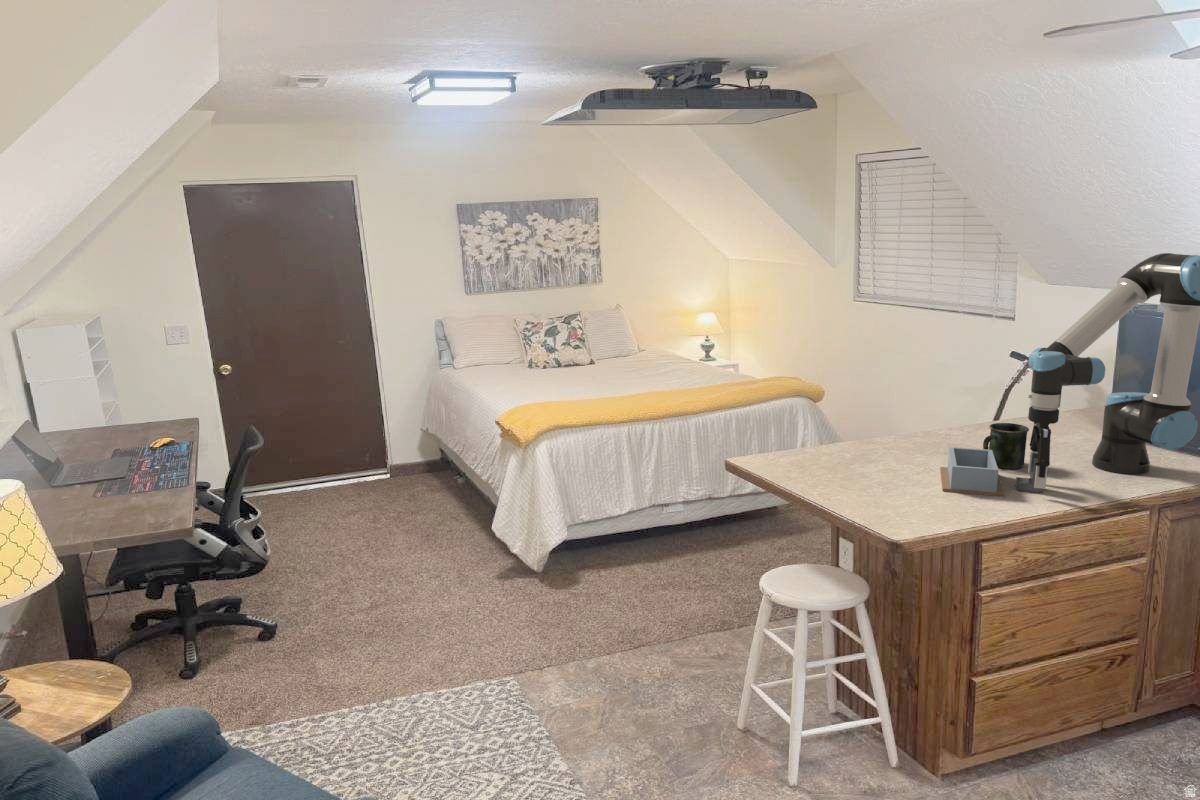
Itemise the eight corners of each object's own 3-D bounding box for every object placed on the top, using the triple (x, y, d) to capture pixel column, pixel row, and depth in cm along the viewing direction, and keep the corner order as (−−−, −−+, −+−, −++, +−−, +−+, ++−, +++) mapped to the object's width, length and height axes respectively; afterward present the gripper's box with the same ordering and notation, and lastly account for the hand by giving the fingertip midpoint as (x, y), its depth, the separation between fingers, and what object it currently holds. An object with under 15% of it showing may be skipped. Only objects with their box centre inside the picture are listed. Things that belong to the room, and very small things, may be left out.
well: (997, 473, 267) (999, 450, 266) (1004, 496, 248) (1006, 471, 246) (940, 469, 272) (942, 446, 271) (942, 491, 253) (944, 466, 251)
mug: (1033, 467, 273) (1037, 429, 270) (995, 473, 268) (999, 434, 265) (1006, 457, 283) (1009, 421, 280) (969, 463, 278) (972, 426, 275)
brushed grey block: (1040, 487, 255) (1043, 453, 253) (1042, 493, 250) (1046, 458, 248) (1015, 485, 257) (1018, 452, 255) (1017, 491, 252) (1020, 457, 250)
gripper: (1024, 396, 260) (1016, 466, 265) (1035, 417, 237) (1027, 493, 242) (1052, 398, 258) (1044, 468, 263) (1066, 419, 235) (1058, 495, 240)
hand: (1036, 480), depth 252 cm, fingers open, 13 cm apart
